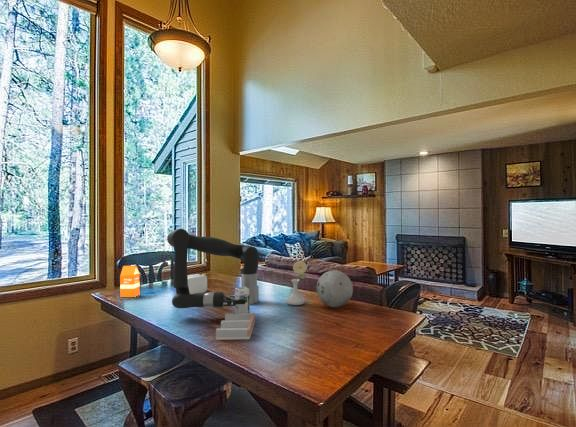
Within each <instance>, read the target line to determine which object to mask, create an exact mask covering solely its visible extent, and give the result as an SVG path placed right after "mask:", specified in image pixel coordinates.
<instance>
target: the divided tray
mask: <svg viewBox="0 0 576 427" xmlns="http://www.w3.org/2000/svg"><path fill="white" fill-rule="evenodd" d="M255 322H256V313H255V312H250V313H233V312H232V313H231V312H230V313H225V314H224V320H221V321H220V328H219V327H217V328H216V329H215V340H216V341H217V340H219V341H220V340H221V341H222V340H223V341H224V340H230V341H231V340H232V341H233V340H250V339H251V337H252V336H251V335H252V333H253V330H254V326H255V324H256V323H255Z"/></svg>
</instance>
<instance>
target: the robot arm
mask: <svg viewBox="0 0 576 427" xmlns="http://www.w3.org/2000/svg"><path fill="white" fill-rule="evenodd" d="M166 237H167V238H166V242H167V243H168V245H170V246H171V247H172V248H174V263H173V270H172V281H173V282H172V283H173V288H174V289H175V292H176V294H175V295H174V296H173V297H172V299H171V304H172V306H173V307H175V308H176V309H190V308H208V309H209V308H210V309H212V308H213V309H214V308H215V309H216V308H224V307H235V306H236V305H238V304H245V299H238V300H237V299H235V293H228V294H227V295H225V293H224V292H222V291H219V292H218V291H217V292H216V291H215V292H213V291H211V292H204V293H195V294H190V292H189V287H188V251H189V250H194V251H197V252H201V253H206V254H209V255H213V256H220V257H232V258H236V259H239V260H241V261H243V267H242V268H241V269H240V274H241V275H240V279H241V282H240V284H241V286H240V287H245V286H246V287H248V288H249V305H254V304H257V303H258V302H260V300H259V295H260V294H259V291H260V290H259V288H260V287H259V285H258V268H259V251H258V249H257V248H256V247H255V246H252V245H242V244H234V243H232V242H229V241H226V240H223V239H220V238H217V237H211V236H201V235H200V236H198V235H192V234H189V232H188V231H187V230H186V229H185V228H176V229H174V230H172V231H170V232H169V233H168V235H167V236H166ZM188 249H189V250H188Z"/></svg>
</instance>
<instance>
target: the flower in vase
mask: <svg viewBox="0 0 576 427" xmlns="http://www.w3.org/2000/svg"><path fill="white" fill-rule="evenodd" d="M307 269H308V266H307V264H306V262H305V261H303V260H299V261H296V262H294V263H293V265H292V270H293V272H294V273H295V274H298V276H296V275H293V274H292V273H291V276H292V277H294V278H293V279H291V283H292V285H293V287H292V289H293V292H292V293H291V295H289V296H288V297H287V298H286V299H285V302H286V304H288V305H291V306H300V305H303V304H305V303H306V298H304V297H303V296H302V295H301V294H299V292H298V285H299V283H300V279H306V278H307V276H306V275H305V273H306V272H307ZM299 277H300V279H299Z"/></svg>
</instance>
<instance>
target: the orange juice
mask: <svg viewBox="0 0 576 427" xmlns="http://www.w3.org/2000/svg"><path fill="white" fill-rule="evenodd" d="M140 281H141V280H140V271H139V268H138V266H137V265H123V266H122V269H121V272H120V275H119V282H120V283H119V284H120V288H119V290H120V292H119V293H120V297H135V298H137V297H139V296H140V294H141V293H140V286H141V285H140ZM138 295H139V296H138ZM136 296H137V297H136Z"/></svg>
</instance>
